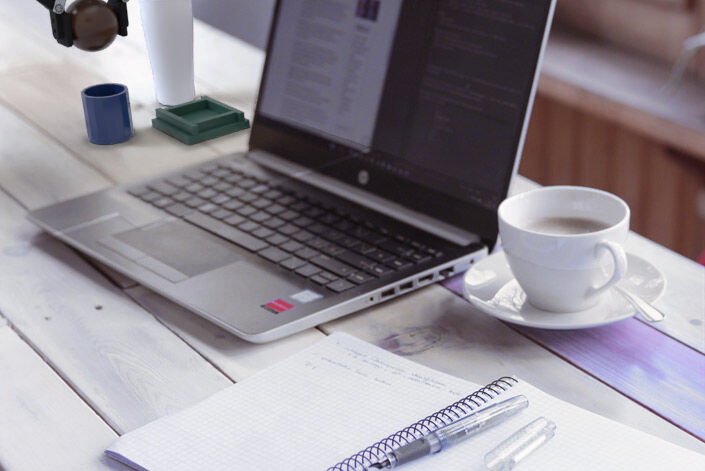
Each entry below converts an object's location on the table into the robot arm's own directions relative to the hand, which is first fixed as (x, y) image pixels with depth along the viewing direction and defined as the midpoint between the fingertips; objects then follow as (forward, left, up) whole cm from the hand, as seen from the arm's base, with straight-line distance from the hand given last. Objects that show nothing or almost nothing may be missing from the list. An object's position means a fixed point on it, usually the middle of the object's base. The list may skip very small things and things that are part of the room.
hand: (92, 38), depth 113 cm
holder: (+10, -5, -13) cm, 17 cm away
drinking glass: (+13, +6, -13) cm, 19 cm away
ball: (0, 0, +2) cm, 2 cm away
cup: (0, 0, -13) cm, 13 cm away
